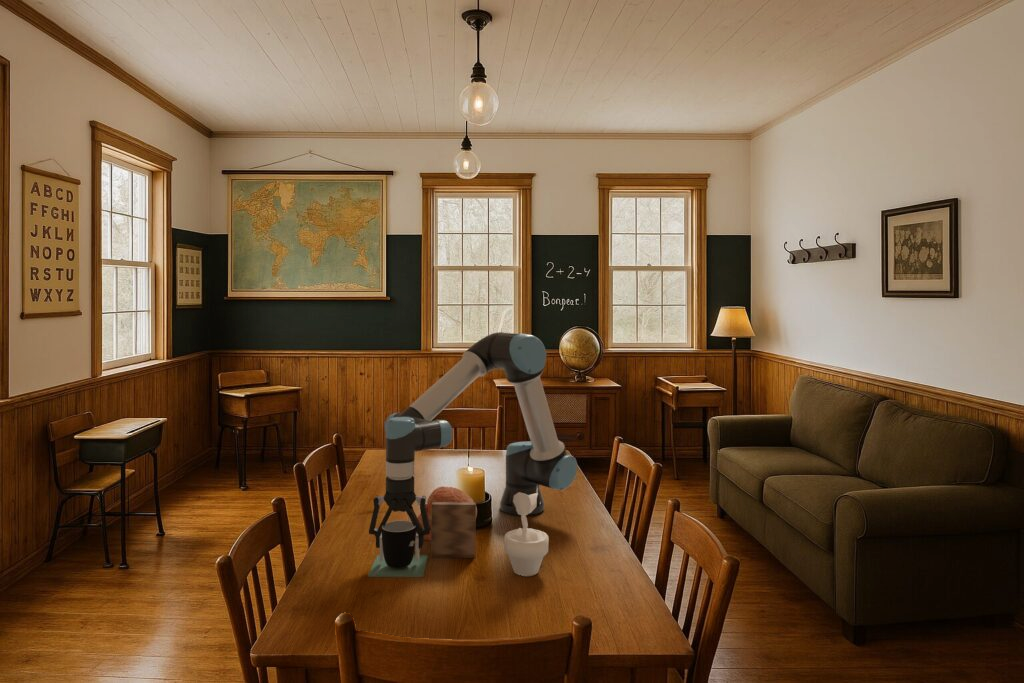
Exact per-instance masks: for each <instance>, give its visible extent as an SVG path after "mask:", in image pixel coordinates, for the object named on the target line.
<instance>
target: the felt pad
mask: <svg viewBox="0 0 1024 683" xmlns="http://www.w3.org/2000/svg"><path fill="white" fill-rule="evenodd" d="M428 558H429V554H419V560H418V562H415V554H414V555H413V559H412V562H411V563H410V565H408V566H406V567H402V568H393V567H389V566H388V565H387V564H386V562H385V559H383V561H380V554H377V555H376V557H375V559H374V561H373V564H372V565H371V569H370V570H369V572H368V575H367V577H368V578H423V577H424V574H425V570H426V566H427V562H428V560H429V559H428Z"/></svg>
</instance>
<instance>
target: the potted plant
mask: <svg viewBox="0 0 1024 683" xmlns="http://www.w3.org/2000/svg"><path fill="white" fill-rule="evenodd" d="M536 492H538V488H537V490H536ZM537 496H538V493H535V494H531V495H527V494H525V493H520V492H519V493H517V494H516V495H514V498H513V503H514V505H515V507H516V511H517V513H518V514H519V515H518V516H520V520H521V525H522V528H521V527H519V528H515V529H513V530H509V531H507V532H506V533H505V534H504V544H503V545H504V547H503V548H504V549H503V550H504V552H505V554H506V555H508V557H509V562H510V564H511V567H512V571H513V572H514V573H515V575H517V576H520V575H521V576H522V577H532V576H535V575H536V574H538V572H539V570H540V568H541V565H542V562H543V558H544V557H545V556H546V555H547V554H548V552H549V538H550V537H549V535H548V534H547V533H546V532H544V531H543V530H542V531H541V530H539V529H534V528H531V527H530V528H529V527H528V526H529V524H528V518H527V516H529V515H528V514H529V513H531V512H532V511H533V510H534V509H535V508H536V507H537ZM540 504H541V502H540Z"/></svg>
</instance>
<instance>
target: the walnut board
mask: <svg viewBox="0 0 1024 683" xmlns="http://www.w3.org/2000/svg"><path fill="white" fill-rule="evenodd" d="M476 507H477V503H476V502H474V503H468V502H433V503H432V541H431V551H430V552H431V554H430V555H431V558H433V559H435V558H437V559H440V558H442V559H448V558H449V559H475V558H476V526H477V525H476V519H477V517H476Z"/></svg>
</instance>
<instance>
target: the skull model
mask: <svg viewBox="0 0 1024 683" xmlns="http://www.w3.org/2000/svg"><path fill="white" fill-rule="evenodd" d="M433 502H468V503H475V502H474V500H473V498H471V496H469V494H467V493H466V492H464V491H463V490H461V489H459V488H456V487H452V486H449V487H448V486H438V487H436V488H435V489H433V491H432V492H431V493H430V495H429V496H428V498H427V499H426V503H425V506H426V510H427V515H428V520H429V525H430V533H429V534H428V535H427V534H426V535H424V538H423V541H431V542H432V503H433ZM477 516H478V508H477V506H476V518H477ZM417 518H418V520H419V522H420V525H421V527H422V529H424V525H423V521H422V516H421V513H419V514H418V515H417ZM416 534H417V532H416Z"/></svg>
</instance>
